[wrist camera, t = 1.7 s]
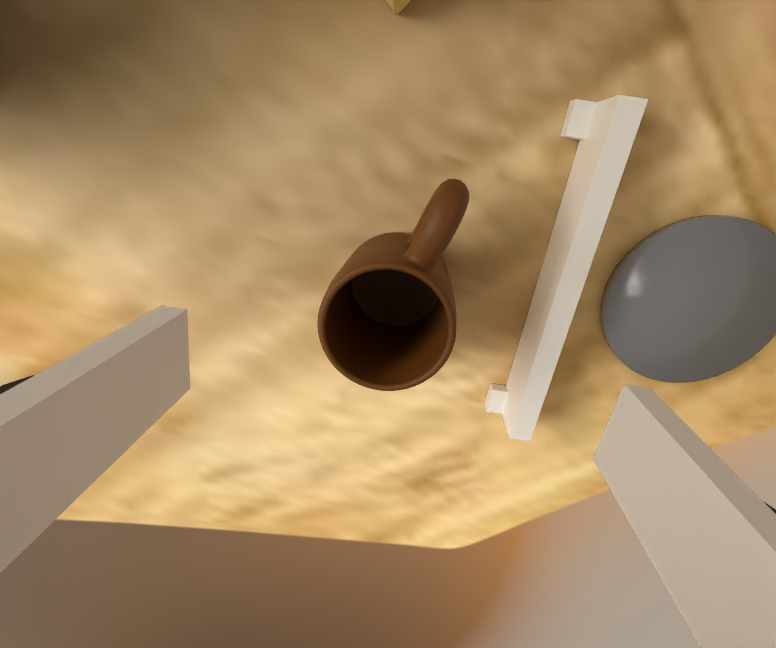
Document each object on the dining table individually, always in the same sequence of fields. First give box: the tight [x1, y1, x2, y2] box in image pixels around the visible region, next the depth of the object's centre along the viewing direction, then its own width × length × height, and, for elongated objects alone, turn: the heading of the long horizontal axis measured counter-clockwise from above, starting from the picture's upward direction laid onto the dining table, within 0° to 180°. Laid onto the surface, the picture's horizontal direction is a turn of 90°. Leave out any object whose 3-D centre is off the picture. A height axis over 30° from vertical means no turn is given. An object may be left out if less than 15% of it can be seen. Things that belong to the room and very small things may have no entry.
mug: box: [318, 179, 469, 391], centre depth 25 cm, size 12×8×9 cm, turn 154°
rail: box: [485, 95, 648, 441], centre depth 27 cm, size 4×22×4 cm, turn 171°
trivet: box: [601, 215, 776, 382], centre depth 29 cm, size 12×12×1 cm
